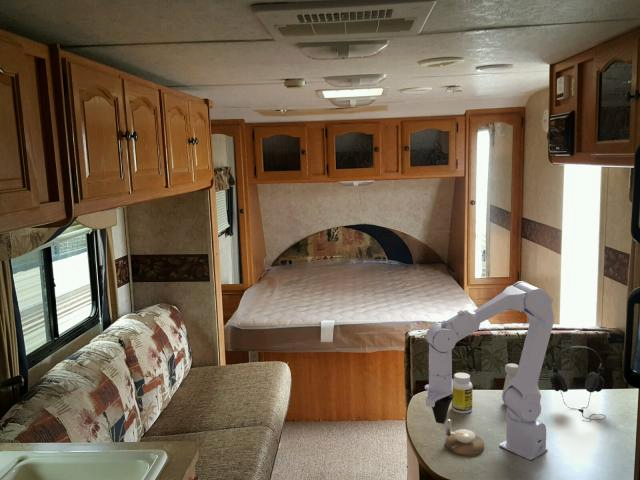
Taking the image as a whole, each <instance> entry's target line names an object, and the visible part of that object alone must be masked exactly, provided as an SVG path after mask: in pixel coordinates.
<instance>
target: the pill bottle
mask: <svg viewBox="0 0 640 480" xmlns="http://www.w3.org/2000/svg"><path fill="white" fill-rule="evenodd" d="M453 377H454V378H453V379H454V386H453V392H452V394H453V399H452V401H451V410H452V411H454V412H455V413H457V414H464V415H465V414H469V413H471V412H472V411H473V383H472V382H471V375H470V374H469V373H466V372H456V373H454V375H453Z"/></svg>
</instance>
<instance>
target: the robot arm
mask: <svg viewBox="0 0 640 480" xmlns="http://www.w3.org/2000/svg"><path fill="white" fill-rule="evenodd" d="M553 300H554V299H553V298H552V296H551V295H550V294H549V293H548V292H547V291H546V290H544V289H543V288H539V287H536V286H534V285H532V284H530V283H528V282H526V281H521V280H520V281H517V282H515V283H513V284H512V285H508V286H507V287H505V289H504V290H503V291H502V292H501V293H499V294H497V295H496V296H495V297H492V298H491V299H489V300H488V301H487V302H486V303H484V304H482V305H480V306H479V307H477V308H476V309H474V310H468V309H465V310H463V309H461V310H459V311H457V314H456V315H454V316H452V317H450V318H449V319H447V320H442V321H441V324H440V323H439V324H437V323H435V324H432V325H431V326H430V327H428V330H426V333H425V334H424V337H425V340H426V342H427V343H428V384H426V385H424V389H425V390H427V397H426V398H425V406H426V407H431V409H432V413H433V416H434V420H435V422H436V423H437V424H441V425H444V424H446V419H447V416H448V411H449V409H450V405H451V404H452V399H453V394H452V392H453V386H454V378H452V377H453V375H452V374H453V371H452V370H453V369H452V368H453V365H452V364H453V363H452V360H453V359H452V358H453V357H452V356H453V355H452V352H453V349H454V348H455V346H456V344H457V342H459V341H461V340H462V339H464V338H466V337H468V336H469V335H470V336H471V334H473V333H474V332H477V331H478V330H479V328H480V325H481V323H483V322H485V321H487V320H489V319H491V318H493V317H494V318H495V317H496V316H498V315H500V314H502V313H504V312H506V311H508V310H511V311H519V312H524V314H525V315H526V316H527V318H528V319H529V324H528V327H527V332H526V336H525V341H524V343H523V344H524V345H523V348H522V352H521V354H520V358H519V364H518V370H517V374H516V377H515V378H513V379H511V380H510V381H509V385H508V387H507V388H506V389H505V390H504V392H503V391H502V393H503V395H502V394H501V398H502V401H503V404H504V403H505V404H506V405H507V406H506V405H505V404H504V405H505V406H506V426H505V427H506V428H505V429H506V434H505V435H506V436H505V439H506V440H503V442H500V443H499V447H500V448H503V449H505V450H507V451H509V452H512V453H514V454H516V455H518V456H520V457H522V458H525V459H527V460H530V461H532V460H534V459H536V458H537V457H539V456H540V455H542V454H543V453H545V452H547V451H548V447H547V427H546V424H545V423H544V422H541V420H539V419H538V418H539V417H540V415H541V412H542V405H541V398H542V394H541V391H540V388H539V384H538V383H539V379H540V375H541V372H542V367H543V364H544V360H545V357H546V352H547V349H548V345H549V341H550V337H551V334H552V329H553V326H554V323H555V315H554V310H553V306H552V305H553Z"/></svg>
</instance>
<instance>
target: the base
mask: <svg viewBox="0 0 640 480" xmlns="http://www.w3.org/2000/svg"><path fill="white" fill-rule="evenodd" d="M445 447H446V449H447V450H448V451H450V452H451V453H452V454H456V455H459V456H463V457H464V456H465V457H472V456H473V457H474V456H478V455H480V454H481V453H483V452H484V450H485V442H484V440H483V438H481V437H480V436H478V435H476V437H475V440H474V441H473V442H468V443H465V442H460V441H458V440H456V439H455V438H454V436H447V435H446V437H445Z"/></svg>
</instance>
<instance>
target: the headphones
mask: <svg viewBox="0 0 640 480" xmlns="http://www.w3.org/2000/svg"><path fill="white" fill-rule="evenodd" d="M573 349H585V350H589V351H592V352H594V353H595V354H596V355H597V356H598V358H599V360H600V361H599V366H598V367H597V372H595V371H591V372H589V373H588V374H587V376H586V378H585V381H584V388H585V390H586V392H589V393H590V394H589V398H588V401H590V397H591V395H592V393H595V392H596V393H599V392H601V391H602V390H603V388H604V386H605V379H604V377H603V376H601V375H602V374H604V371H605V368H604V367H603V359H602V357H601V356H600V355H599V353H598V352H597V351H595V349H593V348H591V347H589V346H585V345H572V346H571V345H570V346H567V347H565V348H563V349H562V350H560V351H559V352H558V353H557V355H556V356H555V359H554V358H553V359H552V363H553V366H552V367H551V369H552V373H553V374H552V375H550V376H549V381H550V383H551V386H552V388H553V390H554V391H555V392H559V391H560V393H561V396H562V401H563V403H564V405H565V406H566V407H567V408H569V409H571V410H572V409H574V410H576V408H573V407H569V406H567V404H566V403H565V401H564V396H563V393H566V392H568V390H569V388H568V384H567V382H566V379H565V377H564V375H563V373H562V372H560V371H558V367H557V366H556V363H557V360H558V358H559V357H560V356H561V354H563V353H564V352H567V351H569V350H573ZM600 374H601V375H600ZM562 392H563V393H562ZM589 405H590V402H588V404H587V406H586V407H584V406H582V407H581V409H579V408H577V410H578V411H580V412H581V413H582V417H583V418H585V416H584V415H583V414H584V409H587V408H588V407H589ZM583 408H584V409H583ZM595 415H596V413H593V414H591V415H589V417H586V419H587V422H591V421H592V420H595V421H597V420H599V421H602V420H605V417H606V415H605V414H602V413H600V415H601V416H604V418H599V419H596V418H591V417H592V416H595ZM581 421H582V422H585V420H583V419H582V420H581Z"/></svg>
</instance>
